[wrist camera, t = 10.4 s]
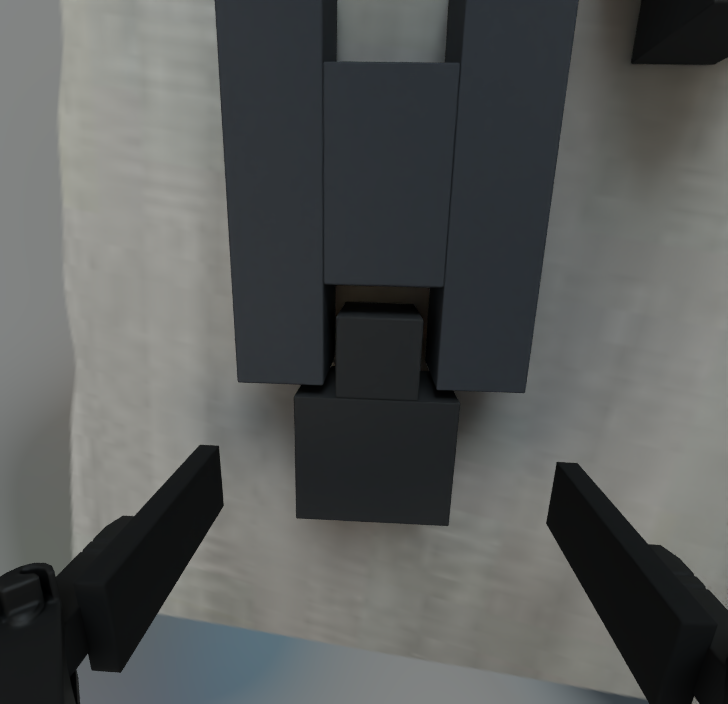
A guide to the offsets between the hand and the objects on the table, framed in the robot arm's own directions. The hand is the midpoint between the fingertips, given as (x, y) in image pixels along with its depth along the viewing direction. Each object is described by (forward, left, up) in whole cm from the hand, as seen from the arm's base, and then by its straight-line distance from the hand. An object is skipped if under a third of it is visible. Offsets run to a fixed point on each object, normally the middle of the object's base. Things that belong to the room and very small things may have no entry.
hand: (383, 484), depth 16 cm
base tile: (0, -11, -6) cm, 13 cm away
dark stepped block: (0, -2, -6) cm, 7 cm away
